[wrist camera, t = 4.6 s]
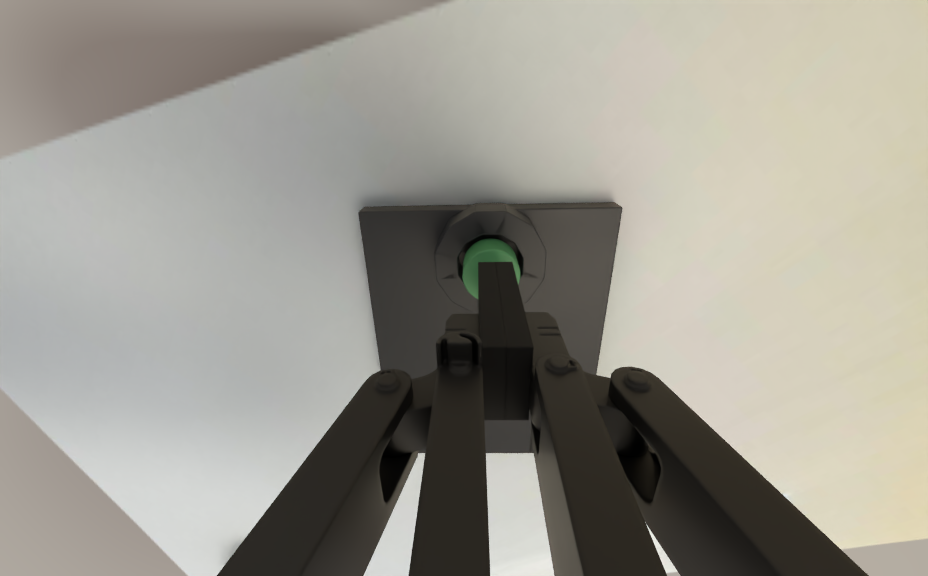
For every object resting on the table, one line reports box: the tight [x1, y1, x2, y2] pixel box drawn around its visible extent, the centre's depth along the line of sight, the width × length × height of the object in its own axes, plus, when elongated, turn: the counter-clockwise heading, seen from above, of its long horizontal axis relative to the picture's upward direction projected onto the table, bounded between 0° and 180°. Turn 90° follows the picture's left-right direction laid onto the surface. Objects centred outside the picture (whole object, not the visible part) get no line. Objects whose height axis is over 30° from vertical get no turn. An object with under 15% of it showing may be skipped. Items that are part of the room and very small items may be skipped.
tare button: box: [462, 238, 520, 299], centre depth 19 cm, size 3×3×2 cm
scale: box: [359, 202, 622, 453], centre depth 24 cm, size 18×14×3 cm
